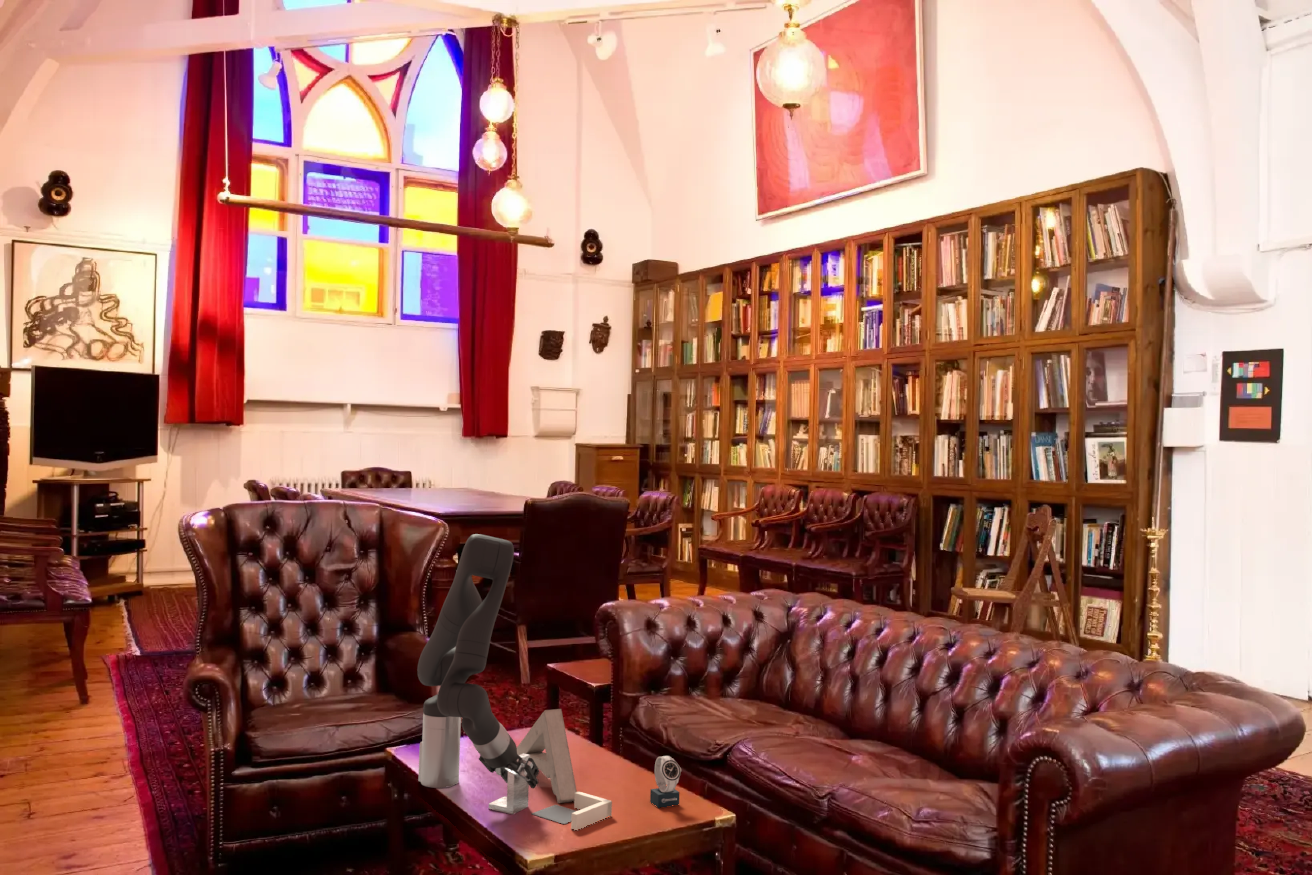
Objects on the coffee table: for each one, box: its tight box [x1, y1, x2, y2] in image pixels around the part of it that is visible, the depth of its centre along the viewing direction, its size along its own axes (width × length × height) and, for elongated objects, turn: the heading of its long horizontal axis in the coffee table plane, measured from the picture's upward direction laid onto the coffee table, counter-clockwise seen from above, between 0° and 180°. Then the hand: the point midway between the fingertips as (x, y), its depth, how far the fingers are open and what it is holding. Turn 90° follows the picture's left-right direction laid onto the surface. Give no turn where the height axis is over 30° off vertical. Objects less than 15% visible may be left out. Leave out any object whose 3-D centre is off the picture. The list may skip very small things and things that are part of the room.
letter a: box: [516, 708, 578, 804], centre depth 253 cm, size 22×4×30 cm
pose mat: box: [531, 804, 577, 825], centre depth 229 cm, size 10×8×1 cm
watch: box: [649, 755, 682, 809], centre depth 238 cm, size 6×8×11 cm
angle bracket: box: [488, 754, 530, 815], centre depth 232 cm, size 7×6×12 cm
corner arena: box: [570, 791, 613, 831], centre depth 227 cm, size 10×12×4 cm
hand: (522, 782), depth 233 cm, fingers open, 6 cm apart
